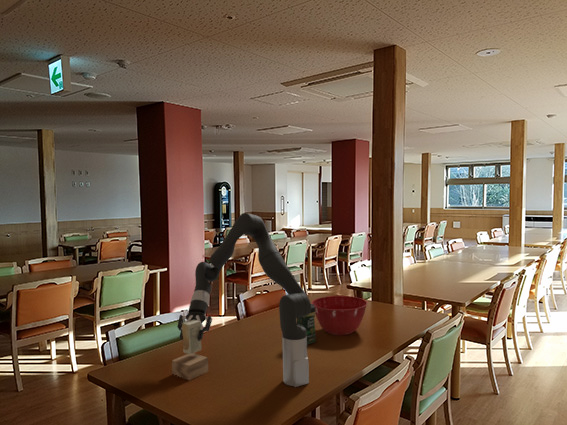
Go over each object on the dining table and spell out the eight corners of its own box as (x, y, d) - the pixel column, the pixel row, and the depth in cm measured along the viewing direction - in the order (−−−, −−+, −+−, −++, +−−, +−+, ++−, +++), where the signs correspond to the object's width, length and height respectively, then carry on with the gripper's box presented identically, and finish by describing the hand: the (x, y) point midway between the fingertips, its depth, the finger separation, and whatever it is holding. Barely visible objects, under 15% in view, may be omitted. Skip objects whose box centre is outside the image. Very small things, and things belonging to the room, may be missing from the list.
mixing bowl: (338, 344, 199) (338, 312, 198) (301, 330, 222) (300, 301, 221) (379, 332, 216) (378, 302, 215) (340, 320, 239) (339, 293, 238)
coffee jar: (304, 347, 196) (303, 307, 196) (293, 343, 202) (292, 304, 202) (319, 342, 203) (318, 303, 202) (307, 338, 209) (306, 301, 208)
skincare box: (195, 348, 176) (194, 319, 175) (201, 350, 173) (200, 320, 172) (182, 352, 171) (181, 322, 170) (189, 355, 168) (188, 324, 167)
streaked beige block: (208, 372, 171) (207, 357, 171) (189, 381, 163) (188, 365, 163) (191, 366, 177) (191, 352, 177) (172, 375, 169) (171, 360, 168)
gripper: (180, 298, 179) (170, 335, 168) (213, 299, 177) (205, 335, 166) (185, 307, 185) (176, 343, 174) (217, 308, 183) (209, 344, 172)
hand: (190, 339), depth 170 cm, fingers closed on skincare box, 6 cm apart
